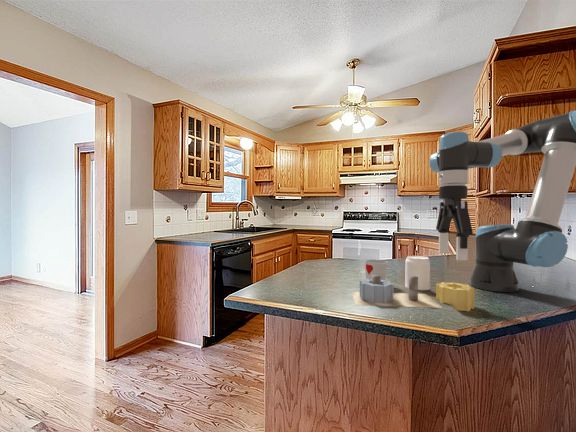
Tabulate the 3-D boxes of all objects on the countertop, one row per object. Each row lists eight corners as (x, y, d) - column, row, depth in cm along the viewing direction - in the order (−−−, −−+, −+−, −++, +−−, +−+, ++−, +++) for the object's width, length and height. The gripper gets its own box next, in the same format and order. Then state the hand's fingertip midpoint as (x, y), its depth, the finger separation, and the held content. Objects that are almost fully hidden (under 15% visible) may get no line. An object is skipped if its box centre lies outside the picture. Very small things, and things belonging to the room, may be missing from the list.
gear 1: (388, 294, 99) (388, 279, 99) (396, 303, 90) (396, 286, 90) (358, 293, 100) (358, 278, 100) (362, 302, 91) (362, 285, 91)
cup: (361, 286, 116) (361, 259, 116) (382, 285, 117) (382, 259, 117) (368, 291, 108) (369, 263, 108) (391, 291, 109) (391, 263, 109)
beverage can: (432, 295, 104) (433, 259, 104) (407, 293, 106) (407, 258, 106) (426, 288, 112) (427, 256, 112) (403, 287, 114) (403, 255, 114)
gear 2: (464, 301, 97) (464, 282, 97) (479, 311, 87) (480, 290, 87) (432, 300, 98) (432, 281, 98) (444, 310, 88) (444, 289, 88)
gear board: (425, 298, 100) (426, 272, 100) (442, 313, 86) (443, 282, 86) (350, 296, 103) (351, 270, 103) (355, 309, 89) (355, 280, 89)
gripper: (426, 188, 105) (425, 250, 106) (457, 182, 80) (456, 263, 81) (449, 188, 104) (448, 250, 105) (488, 181, 79) (486, 264, 80)
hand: (452, 256), depth 93 cm, fingers open, 13 cm apart
